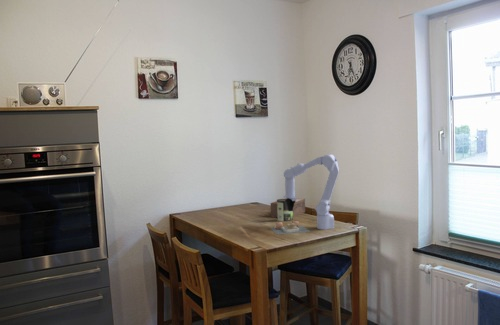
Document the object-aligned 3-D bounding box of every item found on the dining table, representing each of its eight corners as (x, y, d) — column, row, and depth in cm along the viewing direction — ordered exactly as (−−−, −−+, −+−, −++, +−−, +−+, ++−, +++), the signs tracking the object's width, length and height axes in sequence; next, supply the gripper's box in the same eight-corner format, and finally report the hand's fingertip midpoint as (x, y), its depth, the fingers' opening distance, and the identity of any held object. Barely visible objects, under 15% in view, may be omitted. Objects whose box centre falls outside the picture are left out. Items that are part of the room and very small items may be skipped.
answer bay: (295, 228, 229) (295, 225, 228) (299, 231, 221) (299, 228, 221) (281, 229, 227) (281, 227, 227) (285, 232, 219) (285, 229, 219)
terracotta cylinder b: (276, 227, 231) (275, 221, 231) (282, 227, 231) (282, 221, 230) (275, 229, 227) (275, 223, 227) (282, 229, 227) (282, 223, 226)
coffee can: (294, 219, 257) (294, 198, 256) (290, 223, 248) (290, 201, 247) (279, 219, 261) (279, 198, 260) (275, 222, 251) (274, 200, 250)
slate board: (301, 227, 236) (301, 225, 236) (311, 233, 220) (311, 231, 220) (269, 229, 231) (269, 228, 231) (277, 236, 216) (277, 234, 216)
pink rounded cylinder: (297, 226, 233) (297, 220, 233) (299, 227, 230) (299, 222, 229) (291, 227, 233) (291, 221, 232) (293, 228, 229) (293, 222, 228)
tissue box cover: (289, 219, 261) (289, 204, 261) (270, 217, 269) (270, 203, 268) (305, 212, 283) (304, 198, 283) (287, 210, 291) (287, 197, 290)
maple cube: (293, 229, 225) (293, 223, 225) (295, 231, 221) (295, 224, 221) (286, 230, 224) (286, 223, 224) (288, 232, 220) (288, 225, 220)
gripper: (280, 187, 241) (280, 209, 242) (287, 190, 227) (287, 213, 228) (291, 187, 243) (291, 208, 243) (298, 190, 228) (299, 212, 229)
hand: (290, 211), depth 236 cm, fingers closed
